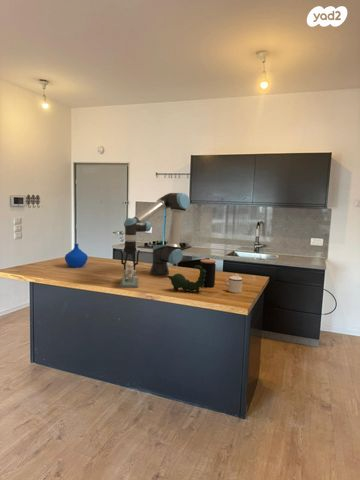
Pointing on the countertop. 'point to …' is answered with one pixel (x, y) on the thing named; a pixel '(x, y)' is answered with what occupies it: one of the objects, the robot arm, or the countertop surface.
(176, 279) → the toy figurine
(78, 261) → the vase
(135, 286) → the base board
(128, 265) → the slat
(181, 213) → the robot arm
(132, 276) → the back end cap
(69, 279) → the countertop surface
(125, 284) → the front end cap
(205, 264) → the coffee jar
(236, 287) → the teacup with lid
